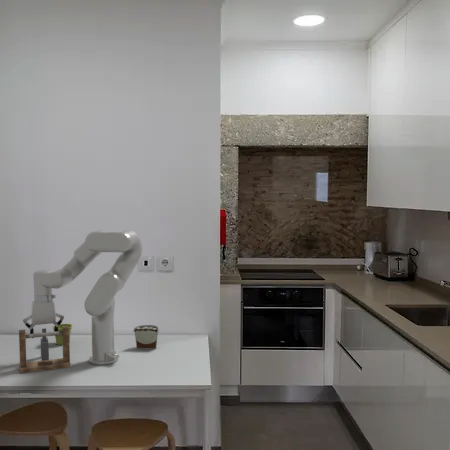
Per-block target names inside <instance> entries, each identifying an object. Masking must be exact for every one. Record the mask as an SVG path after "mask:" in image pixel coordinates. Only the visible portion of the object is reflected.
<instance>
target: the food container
mask: <svg viewBox="0 0 450 450" xmlns="http://www.w3.org/2000/svg"><path fill="white" fill-rule="evenodd" d="M133 328H134V329H133V333H134V336H135V337H134V338H135V344H136V349H139V350H140V349H141V350H143V349H144V350H146V349H147V350H157V345H158V344H157V343H158V334H159V333H160V329H159V327H158V326H157V325H154V324H142V325H137V326H135V327H133Z"/></svg>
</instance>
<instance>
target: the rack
mask: <svg viewBox="0 0 450 450" xmlns="http://www.w3.org/2000/svg"><path fill="white" fill-rule="evenodd" d="M56 335H62V337H63V345H62V358H52V359H49V360H43V361H42V360H34V361H27V345H26V343H27V341H26V339H35V338H42V337H46V338H47V337H55V336H56ZM18 340H19V341H18V345H19V370H20V371H19V373H20V374H27V373H33V372H34V373H35V372H42V371H50V370H57V369H67V368H71V356H70V355H71V354H70V353H71V352H70V348H71V347H70V343H69V326H62V331H57V332H54V331H50V332H47V331H46V333H42V332H39V333H34V334H30V333H29V334H26V329H19V330H18Z"/></svg>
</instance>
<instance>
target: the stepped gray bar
mask: <svg viewBox="0 0 450 450" xmlns="http://www.w3.org/2000/svg"><path fill="white" fill-rule="evenodd" d="M41 333H47V328H41ZM49 348H50V347H49V339H48V337H47V336H46V337H40V358H41V361H43V360H50V357H49V356H50V353H49V352H50V349H49Z"/></svg>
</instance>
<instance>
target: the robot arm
mask: <svg viewBox="0 0 450 450" xmlns="http://www.w3.org/2000/svg"><path fill="white" fill-rule="evenodd" d="M142 252H143V243H142V240H141V238H140V236H139V235H138V233H136V232H135V231H133V230H131V229H130V230H129V229H127V230H122V231H118V232H114V231H112V232H111V231H110V232H107V231H106V230H102V229H98V230H95V231H91V232H90V233H88V235H87V236H86V237H85V239H84V242H82V244H80V245H79V246H78V247H77V248H76V249H75V250H74V252H73V257H72V258H71V259H70V260H69V261H68V262H67V263H66V264H64V265H63V267H62V268H59V269H57V270H55V271H50V270H47V269H45V270H44V269H42V270H36V271H34V272H33V301H32V303H31V314H30V315H29V316H27V317H25V318H23V319H22V322H23V323H24V325H25V327H26V328H28V329H29V334H35V333H34V328H35V326H37V325H38V326H39V325H49V324H53V326H54V330H53V332H57V331H58V326H59V325H60V324H63V321H64V318H65V316H64V315H63V314H60V313H58V312H56V306H55V305H56V304H55V300H54V299H56V294H53V289H57V290H58V289H61V288H64V286H65V287H66V286H68V285H70V284H71V283H72V282H73V281H74V280H75V279H76V278H78V276H80V275H81V274H82V273H83V271H84V270H85V269H87V267H88V266H89V265H90V264H91V263H92V262H93V261H94V260H95V259H96V258H97V257H99V255H101V254H102V253H120V254H119V256H118V257H117V258H116V260H115V262H114V264H113V265H112V266H111V268H110V269H109V270H108V271H107V272H104V274H102V275H101V276H100V277H99V278H98V279H97V281H96V282H95V284H94V285H93V288H92V289H91V290H90V292H89V294H88V295H87V296H86V298H85V300H84V310H85V312H86V313H87V314H88V316H89V315H90V316H91V350H92V351H91V354H92V355H91V356H89V358H88V362H89V363H90V364H92V365H98V366H99V365H101V366H102V365H105V366H106V365H110V364H113V363H115V362H117V361H118V360H119V358H120V355H118V354H116V353H117V351H116V350H115V321H114V320H115V305H116V302H115V300H116V299H115V296H116V295H117V293H118V292H119V291H121V290H123V288H124V286H125V284H126V283H127V281H128V280H129V278H130V276H131V275H132V273H133V271H134V269H135V268H136V267H137V265H138V263H139V261H140V259H141V256H142V254H143V253H142ZM56 318H59V320H57V319H56ZM30 320H31V324H30V323H29V322H28V321H30ZM56 336H57V335H56Z"/></svg>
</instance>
